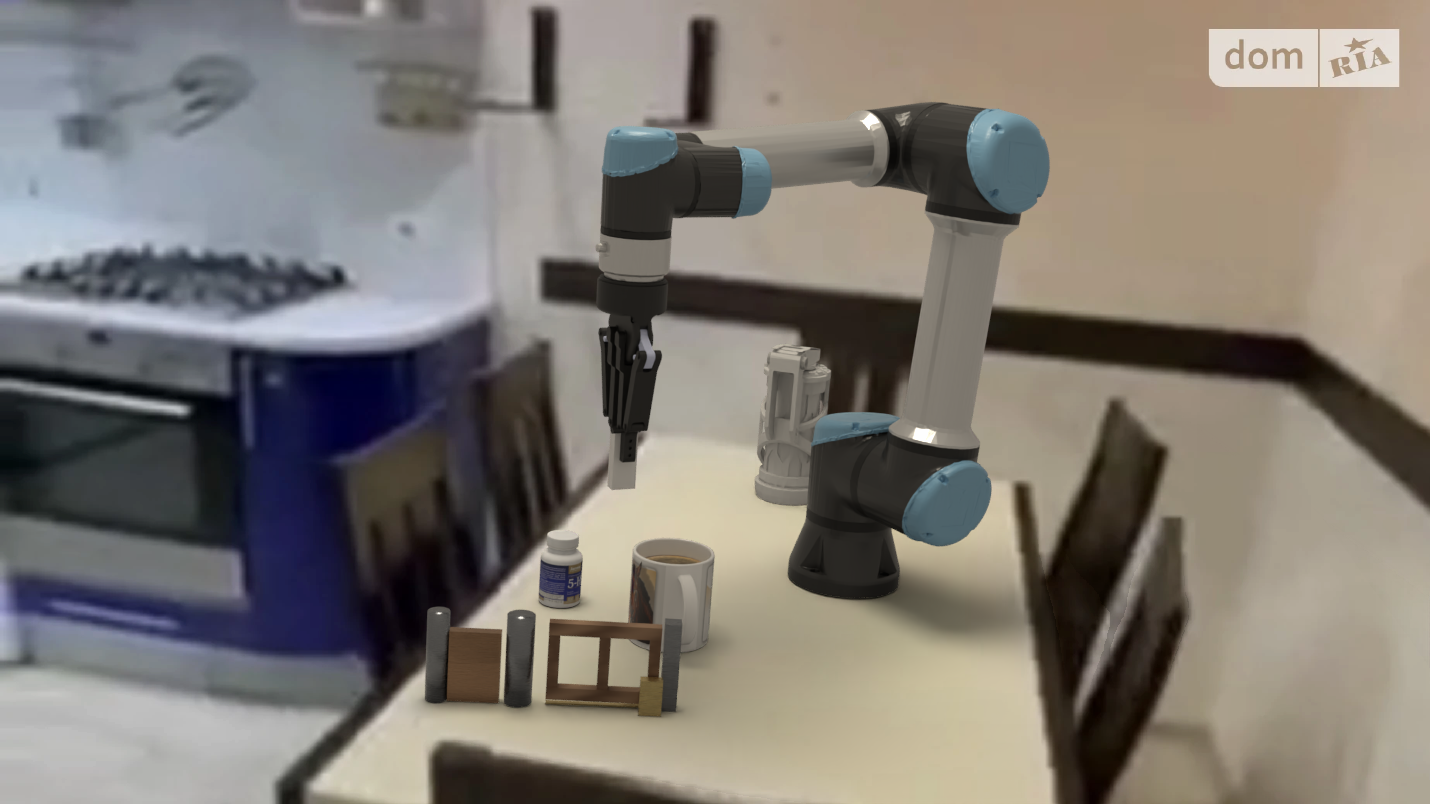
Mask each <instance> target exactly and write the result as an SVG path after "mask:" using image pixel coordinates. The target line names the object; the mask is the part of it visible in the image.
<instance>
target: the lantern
mask: <svg viewBox="0 0 1430 804" xmlns="http://www.w3.org/2000/svg"><path fill="white" fill-rule="evenodd" d="M771 349H772V350H771V351H769V352H768V353H767V355H766V362H765V363H764V367H763V374H764V375H765V376H767V377H766V388H767V389H766V390H767V391H766V395H765V396H764V397H763V399H762V401H761V404H760V412H759V424H758V436H757V437H758V438H757V445H756V446H757V449H756V455H757V457H758V460H759V461H760V463H761V464H762V465H760V466H759V467H758V474H756V476H755V477H754V490H755V495H756V496H757V497H758V498H759V499H761V500H762V501H764V502H768V503H772V504H775V505H776V504H777V505H783V506H804V505H806V506H807V498H808V485H809V472H810V459H811V443H812V442H813V437H814V430H815V425H816V423H817V422H818V421H819V419H820V418H822V417H824V416H826V415H828V409H829V395H830V386H831V385H830V384H831V376H832V370H831V369H830V368H828V367H827V366H826V365H824V364H821V363H820V364H819V361H820V359H821V358H820V357H821V348H817V347H810V346H802V345H795V344H789V343H788V344H787V343H784V344H782V343H780V344H776V345H775V346H773V347H771ZM821 403H822V406H823V408H822V410H821V411H820V409H821ZM763 429H764V430H763ZM763 431H764V432H763Z"/></svg>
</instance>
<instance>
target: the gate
mask: <svg viewBox="0 0 1430 804" xmlns="http://www.w3.org/2000/svg"><path fill="white" fill-rule="evenodd" d="M548 626H549V627H548V646H547V663H546V665H547V666H546V681H545V685H546V686H545V700H558V701H581V702H605V703H628V704H639V692H640V686H639V687H637V686H620V685H619V686H617V685H609V675H610V674H609V673H610V662H611V661H610V660H611V659H610V658H611V644H612V639H615V640H616V639H617V640H619V639H620V640H630V639H633V640H650V647H649V650H648V665H647V676H646V677H660V668H661V665H660V664H661V656H662V654H661V653H662V652H661V641H662V624H645V623H628V622H626V621H625V622H622V621H620V622H619V621H605V620H604V621H603V620H588V619H587V620H585V619H583V620H582V619H569V618H568V619H565V618H549V625H548ZM561 637H575V638H578V637H581V638H597V639H598V638H599V641H598V643H599V644H598V658H597V659H598V661H597V673H596V674H597V675H596V676H597V677H596V684H580V683H579V684H578V683H562V682H559V670H560V669H559V666H560V651H561V650H560V647H561Z"/></svg>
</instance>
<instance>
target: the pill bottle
mask: <svg viewBox="0 0 1430 804" xmlns="http://www.w3.org/2000/svg"><path fill="white" fill-rule="evenodd" d="M579 544H580V535H579V534H578V533H577V532H576V531H573V530H569V529H568V530H567V529H555V530H551V531H549V532H547V535H546V546H547V547H546V548H545V549H543V550H542V552H541V554H540V560H539V561H540V562H539V563H540V564H539V581H538V583H539V584H538V601H539V602H540V604H542V605H544V606H546V607H550V608H553V609H554V608H555V609H567V608H573V607H575V606H577V605H579V603H580V602H581V593H582V578H583V577H582V573H583V562H584V561H583V560H584V557H583V554H582V551H580V550H579V549H578V548H579Z"/></svg>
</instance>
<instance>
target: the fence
mask: <svg viewBox="0 0 1430 804" xmlns="http://www.w3.org/2000/svg"><path fill="white" fill-rule="evenodd" d="M451 611H452V610H450V608H448V607H445V606H433V607H430V608H428V609H427V616H426V617H427V618H426V645H425V649H426V650H425V676H424V677H425V679H424V700H425V701H426V702H427V703H432V704H442V703H444V702H460V703H462V702H463V703H479V704H480V703H481V704H482V703H483V704H499V701H500V690H501V666H502V665H501V664H502V646H503V645H502V644H503V629H501V628H499V629H498V628H479V627H475V628H474V627H461V626H460V627H459V626H458V627H456V626H451ZM506 618H507V619H506V638H505V639H506V640H505V659H504V660H505V661H504V662H505V663H504V682H503V684H504V685H503V704H504V705H506V706H507V707H511V708H517V709H519V708H520V709H521V708H526V707H529V706H530V705H531V704H532V700H533V699H532V697H533V681H534V678H533V677H534V661H535V660H534V659H535V658H534V657H535V641H536V624H537V621H536V620H537V619H536V618H537V615H536V612H534V611H531V610H528V609H513V610H510V611H509V612H507V616H506ZM544 702H545V703H544V704H545V705H560V706H582V707H583V706H584V707H585V706H586V707H604V708H605V707H609V708H628V709H630V708H631V709H634V708H635V709H638V706H639V704H629V703H609V702H588V701H568V700H547V699H545V701H544Z"/></svg>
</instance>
